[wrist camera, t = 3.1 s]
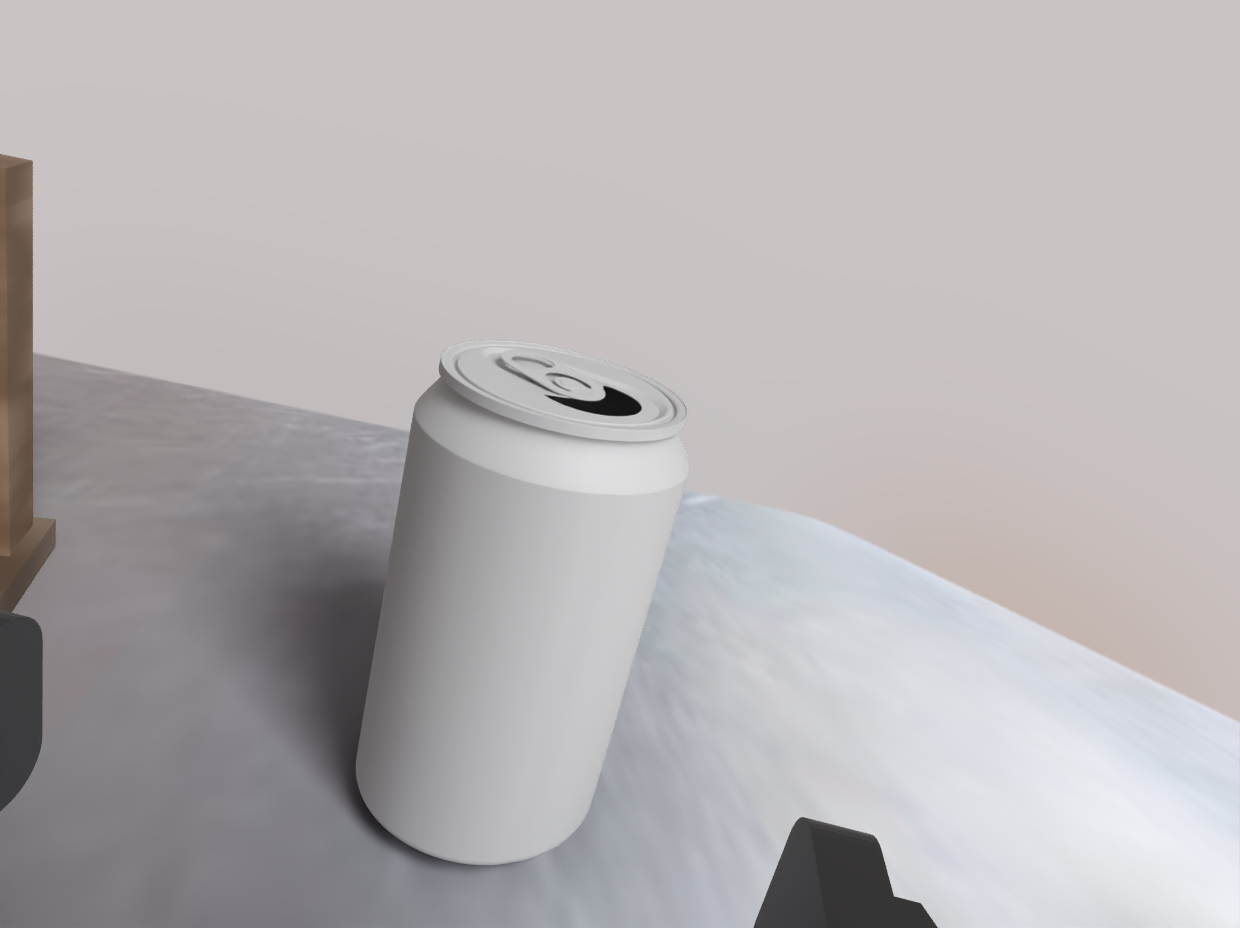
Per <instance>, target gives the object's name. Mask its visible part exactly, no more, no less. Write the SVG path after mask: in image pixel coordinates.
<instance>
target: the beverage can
mask: <svg viewBox="0 0 1240 928" xmlns="http://www.w3.org/2000/svg"><path fill="white" fill-rule="evenodd" d="M439 373H440V375H441V377H440V378H439V379H438V380H437V381H436V382H435V383H434V384H433V385H432V386H431V387H430V388H429V389H428V390H427V391H426V392H425V393H424V394H423V395H422V396H421V397H420V398H419V399H418V401H417V402H416V404H415V407H414V412H413V418H412V424H411V430H410V436H409V442H408V449H407V455H406V461H405V467H404V473H403V479H402V485H401V491H400V497H399V503H398V509H397V515H396V521H395V527H394V533H393V539H392V545H391V551H390V557H389V563H388V569H387V575H386V581H385V587H384V593H383V599H382V606H381V612H380V618H379V624H378V630H377V636H376V642H375V648H374V654H373V660H372V666H371V672H370V678H369V684H368V690H367V696H366V702H365V708H364V714H363V720H362V726H361V732H360V738H359V744H358V750H357V757H356V777H357V782H358V786H359V790H360V793H361V795H362V798H363V800H364V802H365V804H366V805H367V807H368V809H369V810H370V812H371V813H372V814H373V816H374V817H375V818H376V819H377V820H378V822H379V823H380V824H381V825H382V826H383V827H384V828H385V829H386V830H388V831H389V832H390V833H391V834H393V835H394V836H395V837H397V838H398V839H399V840H401V841H402V842H404V843H406V844H407V845H409V846H411V847H413V848H415V849H417V850H419V851H421V852H423V853H425V854H428V855H431V856H434V857H436V858H439V859H443V860H447V861H451V862H456V863H462V864H469V865H500V864H506V863H512V862H518V861H523V860H528V859H531V858H534V857H536V856H539V855H541V854H543V853H546V852H548V851H550V850H552V849H553V848H555V847H557V846H558V845H560V844H561V843H563V842H564V841H565V840H566V839H567V838H569V837H570V836H571V835H572V834H573V833H574V831H575V830H576V829H577V828H578V827H579V826H580V824H581V823H582V821H583V820H584V818H585V817H586V815H587V813H588V811H589V808H590V805H591V802H592V799H593V796H594V792H595V789H596V786H597V782H598V779H599V775H600V772H601V769H602V765H603V762H604V758H605V755H606V752H607V748H608V745H609V742H610V738H611V735H612V731H613V728H614V725H615V721H616V718H617V714H618V711H619V708H620V704H621V701H622V697H623V694H624V691H625V687H626V684H627V681H628V677H629V674H630V670H631V667H632V664H633V660H634V657H635V653H636V650H637V647H638V643H639V640H640V637H641V633H642V630H643V626H644V623H645V620H646V616H647V613H648V609H649V606H650V603H651V599H652V596H653V592H654V589H655V586H656V582H657V579H658V576H659V572H660V569H661V565H662V562H663V559H664V555H665V552H666V548H667V545H668V542H669V538H670V535H671V531H672V528H673V525H674V521H675V518H676V515H677V511H678V508H679V504H680V501H681V498H682V494H683V491H684V487H685V484H686V480H687V477H688V474H689V469H690V465H689V460H688V456H687V453H686V449H685V446H684V443H683V441H682V438H681V435H680V432H681V431H682V430H683V429H684V427H685V424H686V421H687V417H688V408H687V406H686V404H685V403H684V401H683V400H682V399H681V398H680V397H679V396H678V395H677V394H676V393H674V392H673V391H672V390H670V389H669V388H667V387H666V386H664V385H662V384H661V383H659V382H657V381H655V380H654V379H652V378H650V377H648V376H645V375H643V374H641V373H639V372H637V371H634V370H632V369H629V368H627V367H624V366H621V365H619V364H616V363H613V362H610V361H607V360H604V359H601V358H597V357H594V356H590V355H587V354H583V353H579V352H575V351H571V350H567V349H562V348H557V347H552V346H546V345H540V344H533V343H526V342H517V341H504V340H478V341H469V342H463V343H459V344H455V345H453V346H451V347H449V348H447V349H446V350H445V351H444V352H443V353H442V355H441V359H440V365H439Z"/></svg>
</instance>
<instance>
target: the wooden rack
mask: <svg viewBox="0 0 1240 928" xmlns="http://www.w3.org/2000/svg"><path fill="white" fill-rule="evenodd" d="M32 165H33V162H32V161H31V160H26V159H21V158H16V157H11V156H7V155H1V154H0V610H2V611H6V612H10V613H11V612H12V610H13V609H14V607H15V606H16V604H17V603H18V601H19V600H20V598H21V597H22V595H23V594H24V592H25V591H26V589H27V588H28V586H29V585H30V583H31V582H32V580H33V579H34V577H35V576H36V574H37V573H38V571H39V570H40V568H41V567H42V565H43V564H44V562H45V561H46V559H47V558H48V556H49V555H50V553H51V552H52V550H53V549H54V547H55V530H56V520H55V519H44V518H33V258H32V257H33V245H32V244H33V230H32V229H33V225H32V224H33V223H32V222H33V219H32V218H33V217H32V216H33V215H32V213H33V203H32V202H33V200H32V198H33V192H32V191H33V186H32V182H33V178H32V177H33V174H32V172H33V167H32Z"/></svg>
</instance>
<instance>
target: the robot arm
mask: <svg viewBox="0 0 1240 928" xmlns="http://www.w3.org/2000/svg"><path fill="white" fill-rule="evenodd" d="M42 649H43V640H42V632H41V628H40V626H39V625H38V623H37V622H36V621H35V620H34V619H32V618H30V617H26V616H22V615H18V614H14V613H10V612H6V611H2V610H0V811H1V810H2V809H3V808H4V807H5V806H7V805H8V804H9V803H10V802H11V800H12V799H13V798H14V797H15V796H16V795H17V794H18V792H19V791H20V790H21V788H22V787H23V786H24V784H25V783H26V781H27V779H28V778H29V776H30V774H31V772H32V770H33V768H34V766H35V764H36V761H37V759H38V756H39V752H40V749H41V744H42ZM754 928H938V927H937V926H936V925H935V923H934V922H933V920H932V919H931V917H930V916H929V914H928V913H927V912H926V910H925V909H924V907H923V906H922V904H921V903H917V902H914V901H910V900H906V899H902V898H898V897H894V895H893V891H892V888H891V884H890V880H889V876H888V873H887V869H886V865H885V862H884V858H883V854H882V850H881V847H880V844H879V842H878V840H877V839H876V838H875V837H874V836H873V835H871V834H867V833H863V832H859V831H855V830H851V829H848V828H844V827H840V826H836V825H832V824H828V823H824V822H820V821H816V820H812V819H808V818H804V817H802V818H800V819H798V820H797V821H796V823H795V824H794V826H793V828H792V830H791V832H790V835H789V837H788V840H787V842H786V845H785V848H784V850H783V853H782V855H781V858H780V860H779V863H778V865H777V868H776V871H775V873H774V876H773V878H772V881H771V883H770V886H769V889H768V891H767V894H766V896H765V899H764V901H763V904H762V906H761V909H760V912H759V914H758V917H757V919H756V922H755V925H754Z"/></svg>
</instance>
